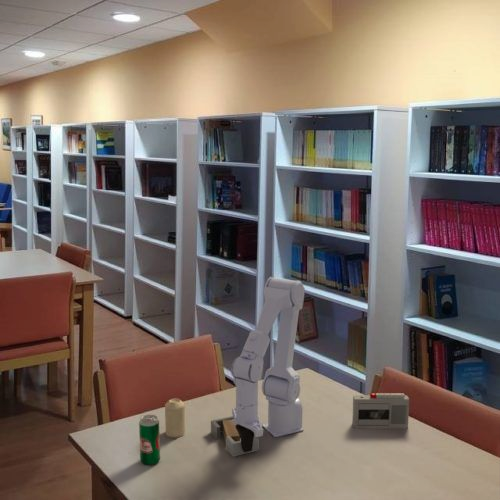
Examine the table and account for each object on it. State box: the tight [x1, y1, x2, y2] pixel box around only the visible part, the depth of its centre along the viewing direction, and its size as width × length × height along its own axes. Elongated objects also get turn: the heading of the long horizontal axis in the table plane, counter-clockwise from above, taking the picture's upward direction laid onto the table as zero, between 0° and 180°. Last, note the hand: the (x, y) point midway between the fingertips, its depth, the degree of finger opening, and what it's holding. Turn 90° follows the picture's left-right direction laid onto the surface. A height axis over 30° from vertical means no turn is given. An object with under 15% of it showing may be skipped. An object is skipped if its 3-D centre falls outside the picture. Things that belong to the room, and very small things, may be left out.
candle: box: [164, 397, 186, 438], centre depth 171 cm, size 6×6×10 cm
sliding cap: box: [225, 436, 260, 457], centre depth 162 cm, size 8×4×4 cm, turn 116°
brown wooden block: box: [221, 420, 241, 443], centre depth 168 cm, size 4×10×4 cm, turn 10°
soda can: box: [138, 414, 161, 467], centre depth 155 cm, size 5×5×12 cm
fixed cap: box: [210, 415, 239, 440], centre depth 171 cm, size 8×4×4 cm, turn 116°
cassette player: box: [351, 392, 410, 429], centre depth 175 cm, size 16×3×10 cm, turn 90°
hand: (246, 450), depth 159 cm, fingers closed, pressing on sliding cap
